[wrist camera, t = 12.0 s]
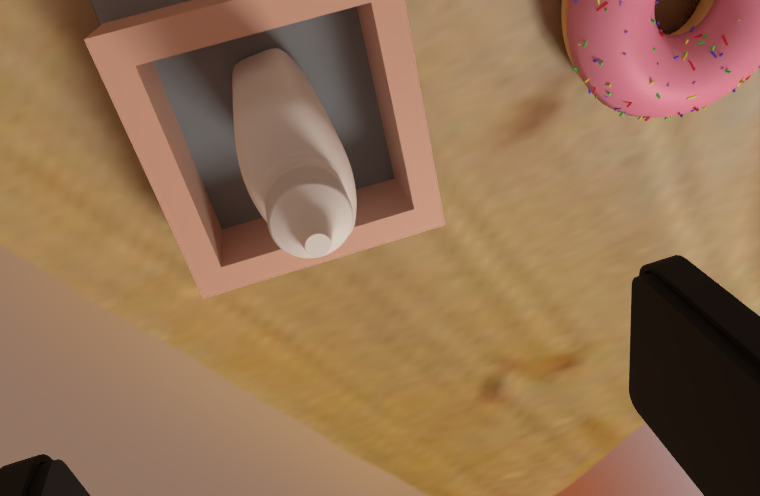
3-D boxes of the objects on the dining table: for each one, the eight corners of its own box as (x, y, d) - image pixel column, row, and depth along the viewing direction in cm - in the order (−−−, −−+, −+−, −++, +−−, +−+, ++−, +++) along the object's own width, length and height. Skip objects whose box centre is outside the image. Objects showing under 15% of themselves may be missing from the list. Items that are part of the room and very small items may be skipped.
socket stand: (92, -10, 23) (64, 5, 19) (366, -81, 24) (393, -80, 20) (212, 267, 29) (210, 319, 26) (422, 204, 30) (451, 245, 26)
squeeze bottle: (225, 171, 26) (224, 333, 16) (234, 39, 24) (238, 131, 13) (323, 179, 27) (380, 335, 17) (341, 54, 25) (420, 150, 15)
